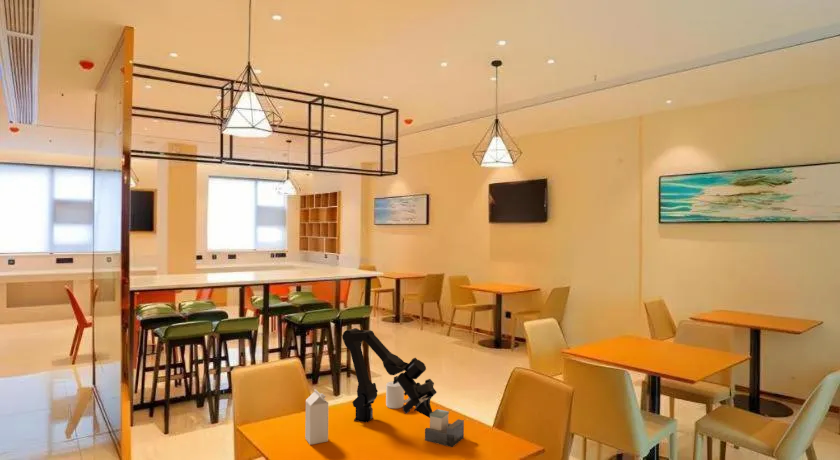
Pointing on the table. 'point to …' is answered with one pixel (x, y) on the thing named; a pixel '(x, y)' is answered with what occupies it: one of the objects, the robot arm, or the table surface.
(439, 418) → the plunger key
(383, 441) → the table surface
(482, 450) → the table surface
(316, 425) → the milk carton
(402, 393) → the mug
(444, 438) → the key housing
